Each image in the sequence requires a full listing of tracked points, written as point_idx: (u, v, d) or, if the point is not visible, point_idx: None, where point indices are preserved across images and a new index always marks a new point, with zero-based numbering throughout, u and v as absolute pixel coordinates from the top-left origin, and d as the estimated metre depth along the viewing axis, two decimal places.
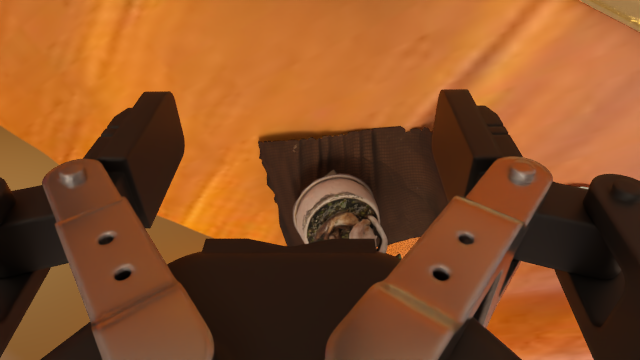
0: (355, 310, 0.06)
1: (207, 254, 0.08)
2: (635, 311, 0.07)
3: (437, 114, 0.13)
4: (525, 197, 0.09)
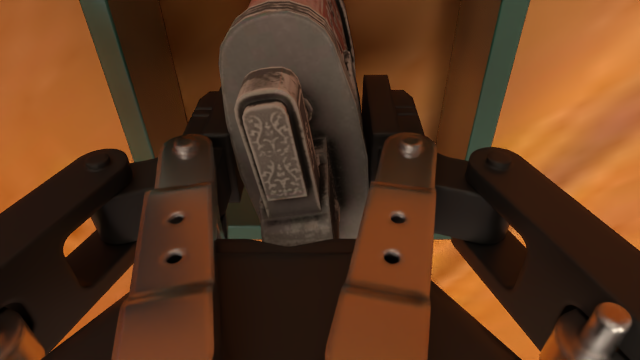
0: (355, 310, 0.06)
1: None
2: (542, 268, 0.08)
3: (362, 98, 0.14)
4: (422, 167, 0.09)
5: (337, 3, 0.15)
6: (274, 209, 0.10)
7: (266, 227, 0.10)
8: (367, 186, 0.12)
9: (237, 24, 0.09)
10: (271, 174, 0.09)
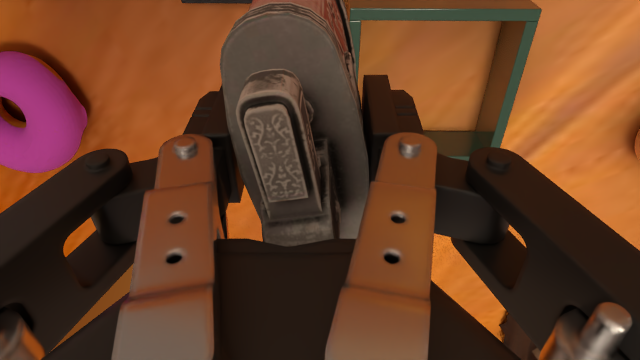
0: (355, 310, 0.06)
1: None
2: (542, 268, 0.08)
3: (362, 98, 0.14)
4: (422, 167, 0.09)
5: (338, 4, 0.15)
6: (275, 210, 0.10)
7: (266, 228, 0.10)
8: (368, 187, 0.12)
9: (238, 26, 0.09)
10: (272, 176, 0.09)
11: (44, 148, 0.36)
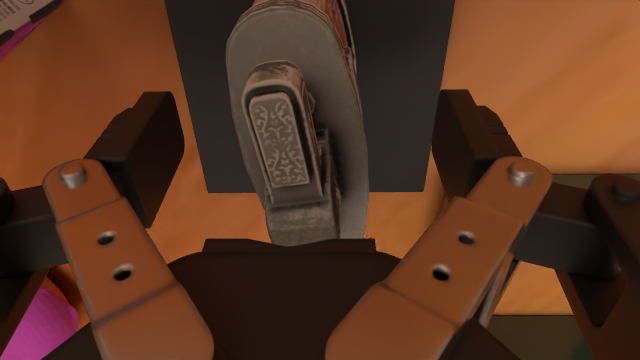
0: (355, 310, 0.06)
1: (207, 253, 0.08)
2: (635, 311, 0.07)
3: (437, 114, 0.13)
4: (525, 197, 0.09)
5: (338, 1, 0.16)
6: (278, 196, 0.10)
7: (270, 212, 0.10)
8: (367, 176, 0.12)
9: (243, 20, 0.10)
10: (276, 162, 0.09)
11: None
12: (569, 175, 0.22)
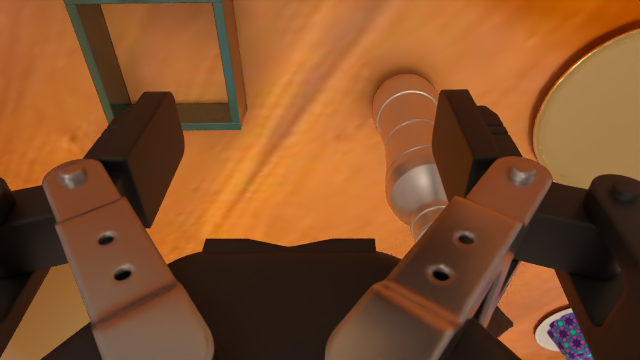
0: (355, 310, 0.06)
1: (207, 253, 0.08)
2: (635, 311, 0.07)
3: (437, 114, 0.13)
4: (525, 197, 0.09)
5: None
6: None
7: None
8: None
9: None
10: None
11: None
12: None
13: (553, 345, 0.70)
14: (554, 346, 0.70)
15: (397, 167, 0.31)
